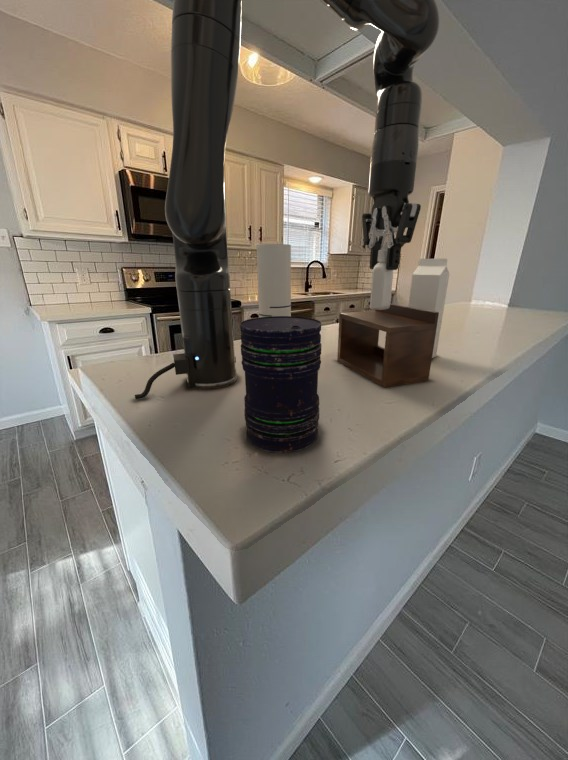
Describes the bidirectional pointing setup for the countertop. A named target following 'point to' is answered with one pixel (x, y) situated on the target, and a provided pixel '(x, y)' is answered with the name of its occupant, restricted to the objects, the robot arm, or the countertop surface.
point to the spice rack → (388, 344)
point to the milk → (430, 289)
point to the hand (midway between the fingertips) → (383, 269)
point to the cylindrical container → (274, 279)
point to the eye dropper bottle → (381, 282)
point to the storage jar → (281, 381)
